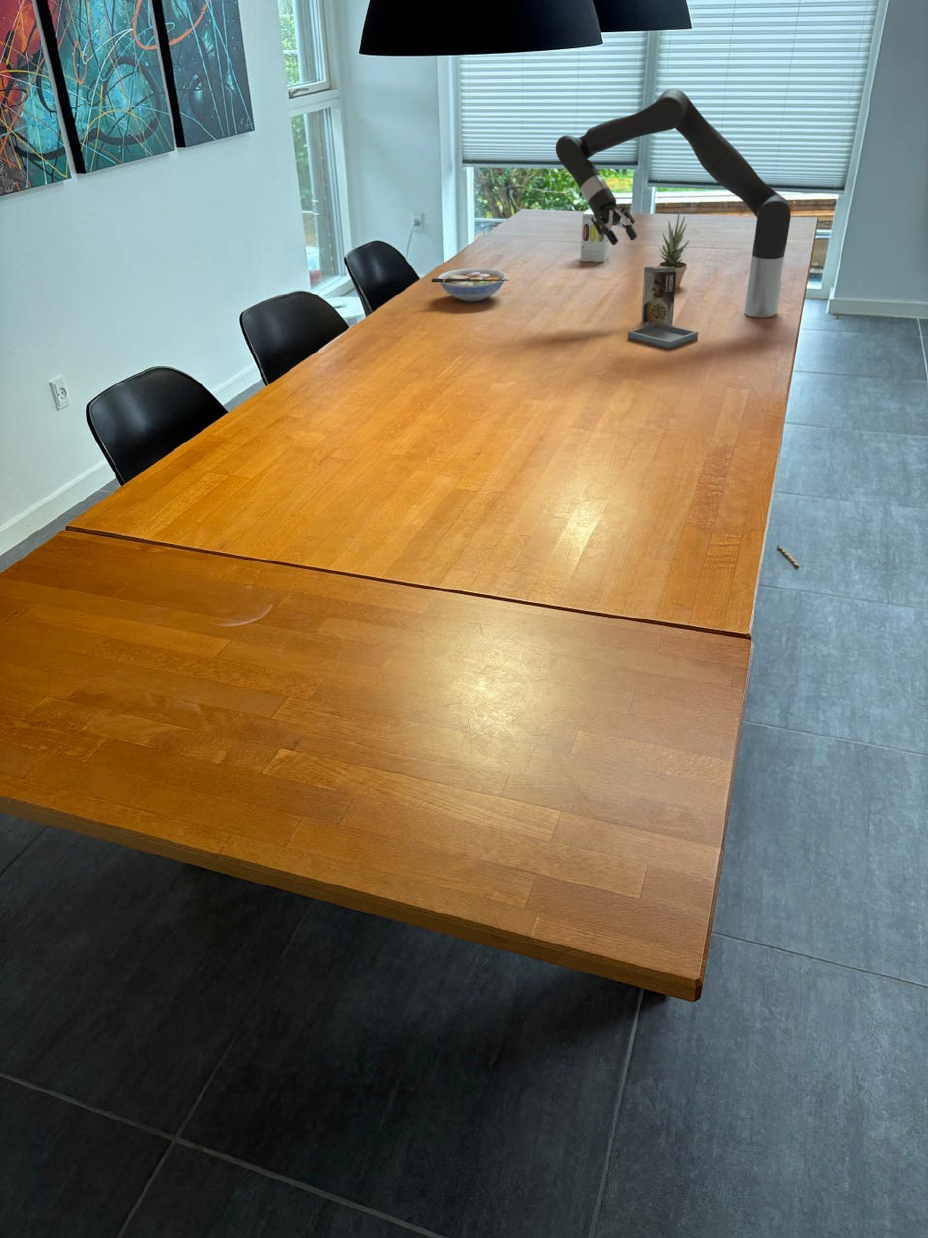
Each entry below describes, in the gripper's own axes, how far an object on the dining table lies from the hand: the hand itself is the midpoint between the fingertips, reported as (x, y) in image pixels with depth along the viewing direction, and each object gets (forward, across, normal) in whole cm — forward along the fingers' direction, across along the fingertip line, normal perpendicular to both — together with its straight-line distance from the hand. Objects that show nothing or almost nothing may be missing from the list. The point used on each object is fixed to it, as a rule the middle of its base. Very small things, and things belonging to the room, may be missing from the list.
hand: (625, 240), depth 281 cm
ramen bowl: (-19, -18, +50) cm, 57 cm away
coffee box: (+26, 0, +6) cm, 26 cm away
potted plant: (+8, +38, +23) cm, 45 cm away
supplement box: (-24, +51, +55) cm, 79 cm away
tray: (+33, -11, -2) cm, 35 cm away
